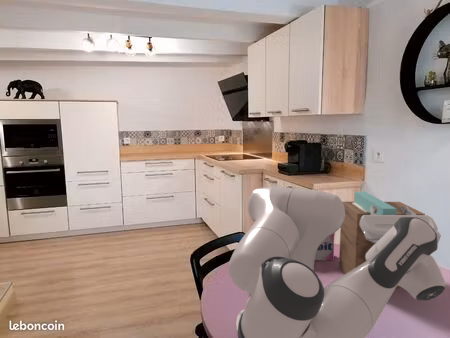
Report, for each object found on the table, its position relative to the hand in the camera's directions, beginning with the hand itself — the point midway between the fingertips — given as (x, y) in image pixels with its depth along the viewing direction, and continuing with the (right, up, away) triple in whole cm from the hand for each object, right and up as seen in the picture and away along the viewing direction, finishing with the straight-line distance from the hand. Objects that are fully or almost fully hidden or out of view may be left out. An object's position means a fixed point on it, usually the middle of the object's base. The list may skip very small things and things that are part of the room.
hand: (388, 207), depth 105 cm
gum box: (-17, -26, +40) cm, 50 cm away
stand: (+6, -28, +21) cm, 35 cm away
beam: (0, -2, +12) cm, 12 cm away
